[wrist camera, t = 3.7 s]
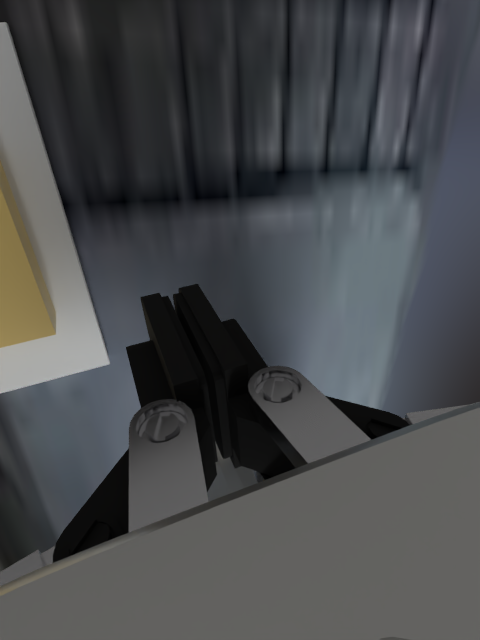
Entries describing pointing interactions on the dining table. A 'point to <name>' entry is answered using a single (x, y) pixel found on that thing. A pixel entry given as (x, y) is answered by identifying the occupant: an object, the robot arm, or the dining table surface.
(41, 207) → the overhang dock
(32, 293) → the ochre panel
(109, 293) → the dining table surface
